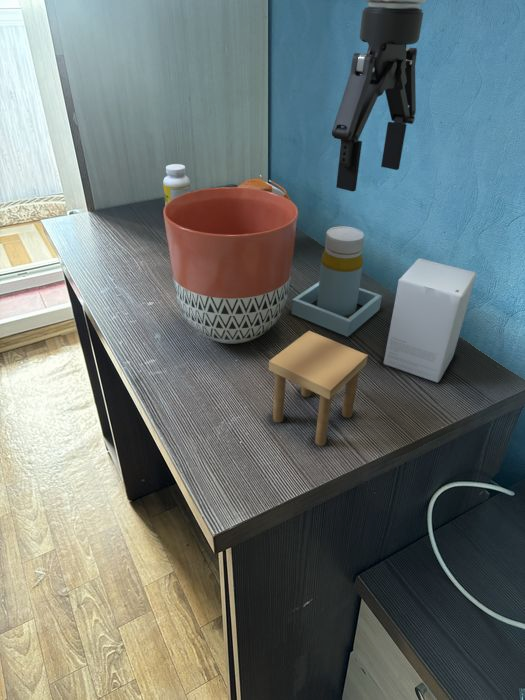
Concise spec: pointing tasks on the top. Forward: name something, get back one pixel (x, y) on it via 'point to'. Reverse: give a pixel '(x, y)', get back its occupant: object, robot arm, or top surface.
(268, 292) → the planter
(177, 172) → the pill bottle
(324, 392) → the stool
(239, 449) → the top surface
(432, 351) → the rectangular carton
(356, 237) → the bottle
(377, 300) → the square tray frame
